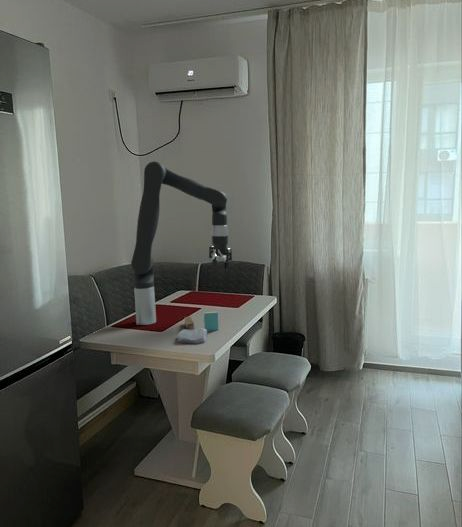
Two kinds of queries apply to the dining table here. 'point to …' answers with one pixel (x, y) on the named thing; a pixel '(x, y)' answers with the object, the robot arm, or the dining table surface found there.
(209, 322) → the tile
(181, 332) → the stone block
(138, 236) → the robot arm
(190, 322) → the spatula
